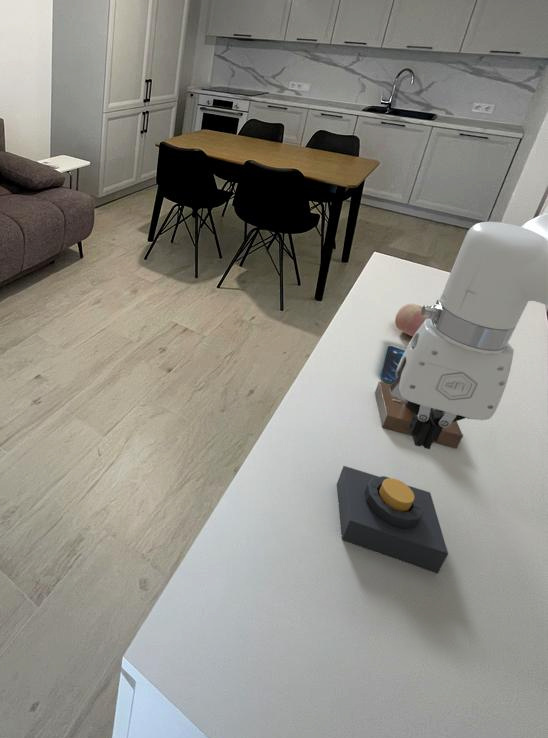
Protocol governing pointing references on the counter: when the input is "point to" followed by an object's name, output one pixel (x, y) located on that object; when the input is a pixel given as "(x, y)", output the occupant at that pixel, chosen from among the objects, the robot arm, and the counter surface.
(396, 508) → the yellow button cap
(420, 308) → the apple
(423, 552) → the button base
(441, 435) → the dial panel
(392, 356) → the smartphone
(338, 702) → the counter surface
